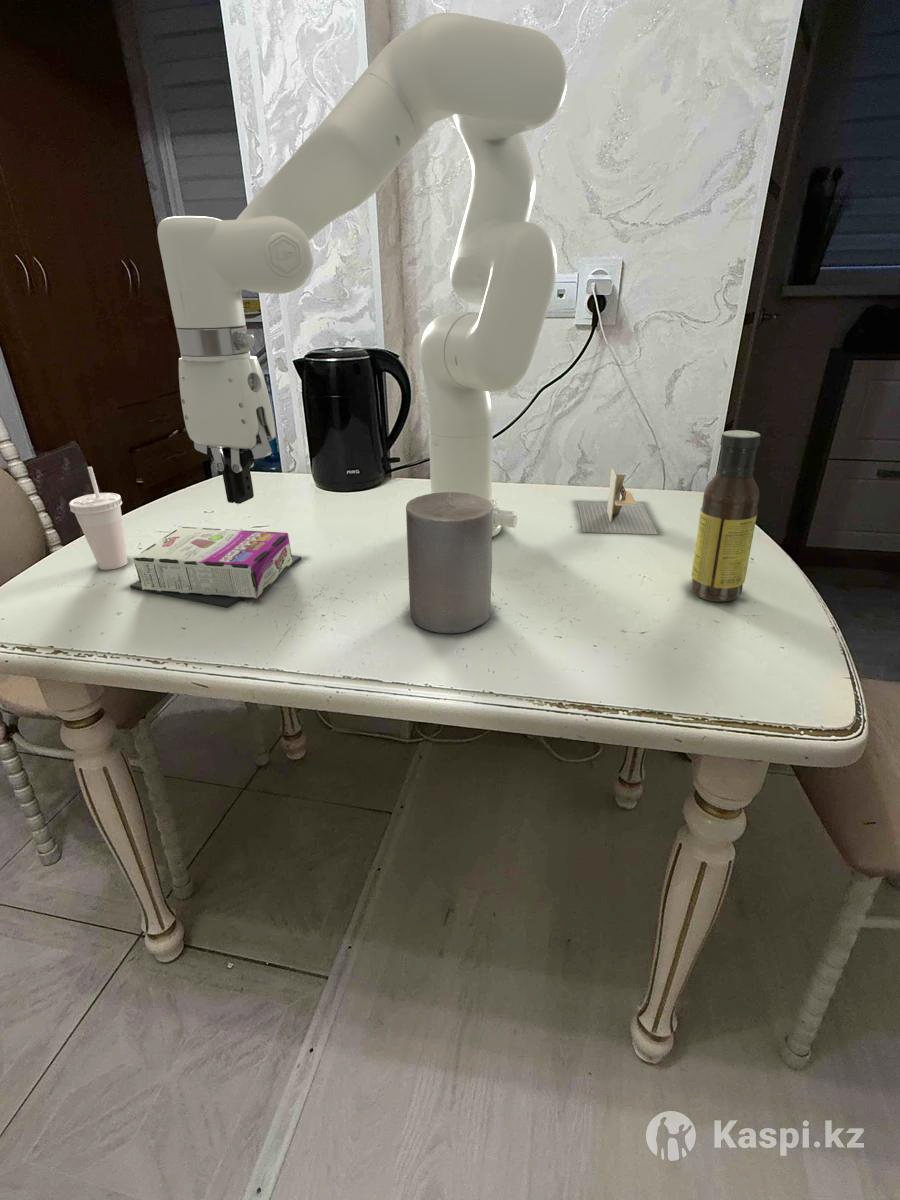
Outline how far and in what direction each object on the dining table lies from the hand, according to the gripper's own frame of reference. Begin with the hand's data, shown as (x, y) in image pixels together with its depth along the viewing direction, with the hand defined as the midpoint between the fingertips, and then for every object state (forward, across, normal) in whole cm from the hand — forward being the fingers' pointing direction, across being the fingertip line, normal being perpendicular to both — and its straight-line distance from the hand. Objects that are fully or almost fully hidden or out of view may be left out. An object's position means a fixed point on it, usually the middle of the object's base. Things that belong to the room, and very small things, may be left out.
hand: (241, 499), depth 79 cm
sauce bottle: (+11, -58, -17) cm, 61 cm away
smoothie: (+11, +22, +3) cm, 25 cm away
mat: (+11, +6, 0) cm, 13 cm away
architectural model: (+11, -42, -41) cm, 60 cm away
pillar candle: (+11, -28, 0) cm, 31 cm away
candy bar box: (+8, -4, 0) cm, 9 cm away
